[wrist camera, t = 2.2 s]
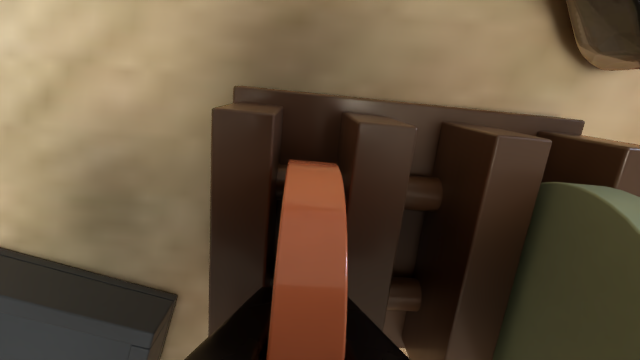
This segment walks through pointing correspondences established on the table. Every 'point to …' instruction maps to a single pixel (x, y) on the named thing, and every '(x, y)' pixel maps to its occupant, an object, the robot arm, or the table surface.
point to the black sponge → (607, 32)
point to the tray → (77, 313)
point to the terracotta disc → (310, 266)
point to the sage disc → (576, 278)
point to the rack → (399, 204)
